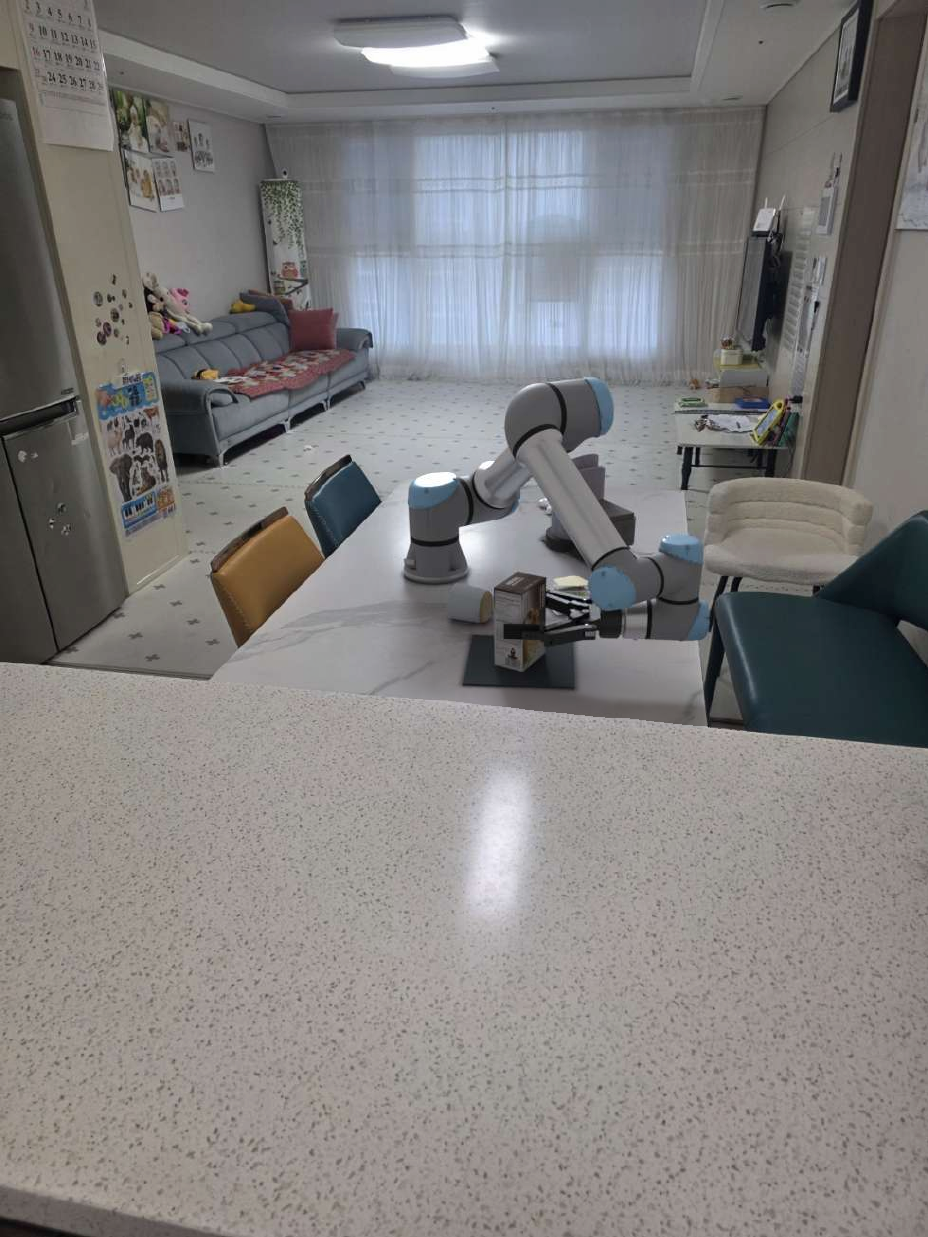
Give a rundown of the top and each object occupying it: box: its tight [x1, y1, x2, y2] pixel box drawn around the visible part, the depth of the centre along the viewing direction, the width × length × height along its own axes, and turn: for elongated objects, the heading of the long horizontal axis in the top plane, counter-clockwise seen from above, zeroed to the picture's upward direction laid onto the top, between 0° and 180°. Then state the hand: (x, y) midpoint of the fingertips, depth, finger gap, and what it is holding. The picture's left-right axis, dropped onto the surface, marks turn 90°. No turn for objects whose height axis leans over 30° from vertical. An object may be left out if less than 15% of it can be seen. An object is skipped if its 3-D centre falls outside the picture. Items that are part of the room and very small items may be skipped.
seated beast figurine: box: [539, 497, 552, 515], centre depth 240 cm, size 10×9×12 cm
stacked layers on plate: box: [550, 575, 595, 616], centre depth 179 cm, size 10×9×6 cm
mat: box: [462, 634, 575, 690], centre depth 157 cm, size 20×20×1 cm
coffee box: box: [493, 571, 548, 672], centre depth 154 cm, size 9×6×16 cm
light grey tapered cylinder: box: [446, 582, 494, 624], centre depth 174 cm, size 11×8×8 cm
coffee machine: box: [540, 453, 637, 565], centre depth 206 cm, size 30×16×24 cm, turn 25°
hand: (505, 615), depth 153 cm, fingers open, 13 cm apart
